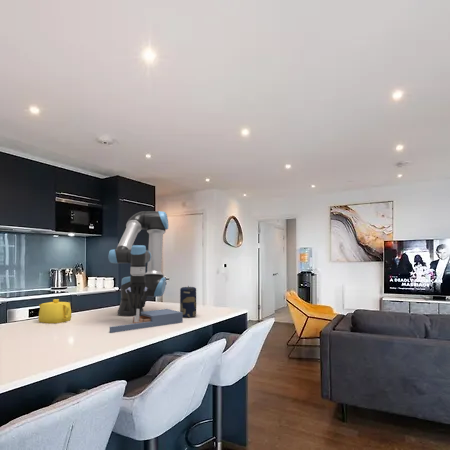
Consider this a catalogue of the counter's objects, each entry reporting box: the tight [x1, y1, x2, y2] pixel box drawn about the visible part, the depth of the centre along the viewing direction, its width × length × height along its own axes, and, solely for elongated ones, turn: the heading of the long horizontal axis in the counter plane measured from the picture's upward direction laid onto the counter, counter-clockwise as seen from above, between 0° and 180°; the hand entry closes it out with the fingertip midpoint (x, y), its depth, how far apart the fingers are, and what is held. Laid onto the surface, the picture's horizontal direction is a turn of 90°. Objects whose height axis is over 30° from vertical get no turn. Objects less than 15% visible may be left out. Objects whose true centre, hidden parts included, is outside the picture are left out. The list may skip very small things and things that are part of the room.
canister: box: [179, 285, 197, 318], centre depth 205 cm, size 10×10×18 cm
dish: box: [132, 316, 151, 324], centre depth 183 cm, size 11×16×4 cm
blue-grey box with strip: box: [108, 308, 184, 334], centre depth 179 cm, size 16×40×5 cm, turn 130°
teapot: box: [38, 298, 72, 325], centre depth 190 cm, size 20×12×12 cm, turn 70°
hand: (136, 321), depth 177 cm, fingers closed
